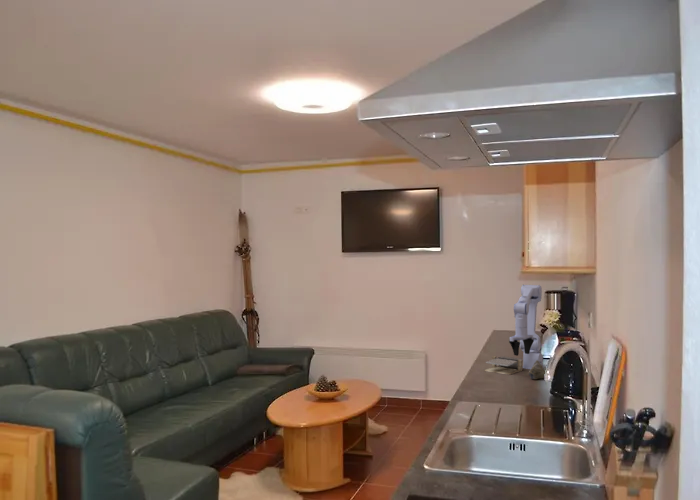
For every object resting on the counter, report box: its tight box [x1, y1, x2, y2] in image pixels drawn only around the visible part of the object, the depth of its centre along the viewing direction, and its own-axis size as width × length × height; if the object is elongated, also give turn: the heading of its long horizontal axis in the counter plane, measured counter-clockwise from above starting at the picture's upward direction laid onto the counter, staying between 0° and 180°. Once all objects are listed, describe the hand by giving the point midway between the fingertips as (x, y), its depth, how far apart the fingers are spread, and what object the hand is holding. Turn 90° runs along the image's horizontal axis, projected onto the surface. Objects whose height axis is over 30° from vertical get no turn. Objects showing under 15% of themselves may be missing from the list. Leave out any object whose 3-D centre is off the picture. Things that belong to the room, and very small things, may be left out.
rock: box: [528, 360, 546, 380], centre depth 263 cm, size 11×6×10 cm
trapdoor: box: [485, 355, 523, 369], centre depth 282 cm, size 12×18×4 cm
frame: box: [483, 355, 524, 376], centre depth 280 cm, size 16×12×6 cm
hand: (521, 354), depth 269 cm, fingers open, 7 cm apart
